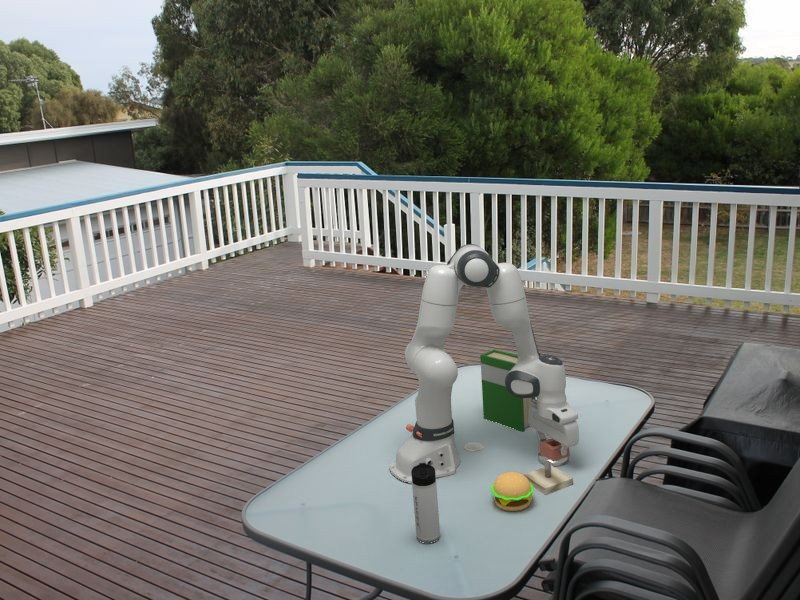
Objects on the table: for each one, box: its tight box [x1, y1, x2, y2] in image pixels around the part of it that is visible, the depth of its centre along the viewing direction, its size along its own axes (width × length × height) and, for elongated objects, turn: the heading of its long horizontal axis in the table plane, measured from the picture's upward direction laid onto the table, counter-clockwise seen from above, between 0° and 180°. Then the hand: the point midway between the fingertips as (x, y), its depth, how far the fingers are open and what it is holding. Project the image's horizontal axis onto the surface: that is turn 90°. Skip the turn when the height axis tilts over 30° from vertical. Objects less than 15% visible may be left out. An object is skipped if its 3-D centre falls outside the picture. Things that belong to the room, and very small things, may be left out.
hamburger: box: [489, 471, 535, 512], centre depth 207 cm, size 12×12×9 cm
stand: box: [523, 461, 574, 496], centre depth 216 cm, size 10×10×6 cm
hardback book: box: [479, 349, 537, 433], centre depth 256 cm, size 18×7×24 cm, turn 42°
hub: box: [537, 452, 569, 468], centre depth 229 cm, size 9×9×4 cm
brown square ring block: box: [539, 438, 570, 462], centre depth 229 cm, size 6×6×4 cm
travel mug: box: [411, 463, 441, 544], centre depth 192 cm, size 6×7×20 cm
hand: (552, 449), depth 229 cm, fingers open, 8 cm apart
